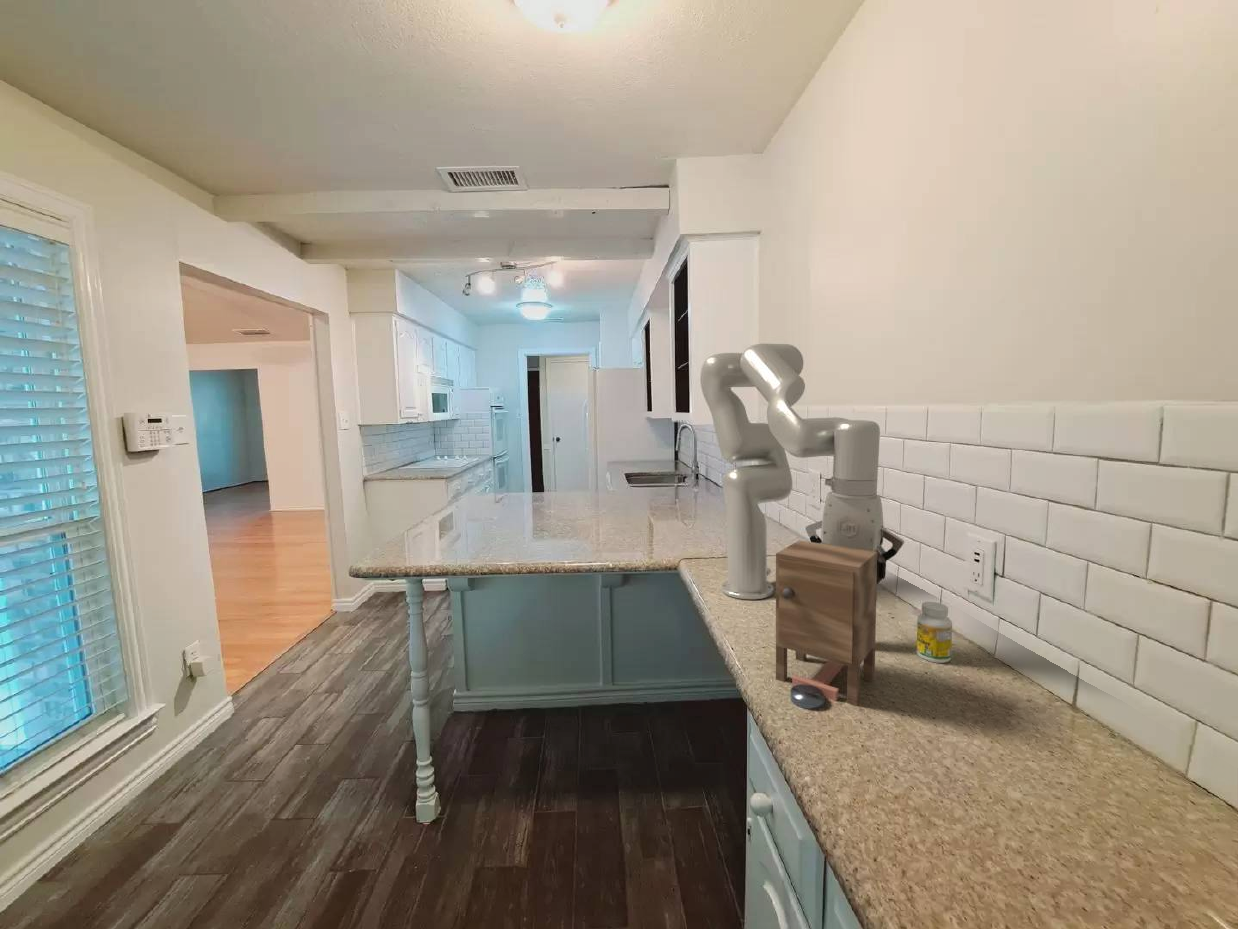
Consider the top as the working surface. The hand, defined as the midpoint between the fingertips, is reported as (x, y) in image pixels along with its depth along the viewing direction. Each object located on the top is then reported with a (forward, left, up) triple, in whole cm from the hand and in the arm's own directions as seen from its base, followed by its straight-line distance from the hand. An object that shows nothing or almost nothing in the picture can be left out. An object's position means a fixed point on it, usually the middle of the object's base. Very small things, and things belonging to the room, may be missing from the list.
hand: (850, 575), depth 97 cm
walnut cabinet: (+15, +1, -14) cm, 21 cm away
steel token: (+23, +1, -14) cm, 27 cm away
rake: (+9, +1, -14) cm, 17 cm away
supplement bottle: (-4, +13, -14) cm, 20 cm away
